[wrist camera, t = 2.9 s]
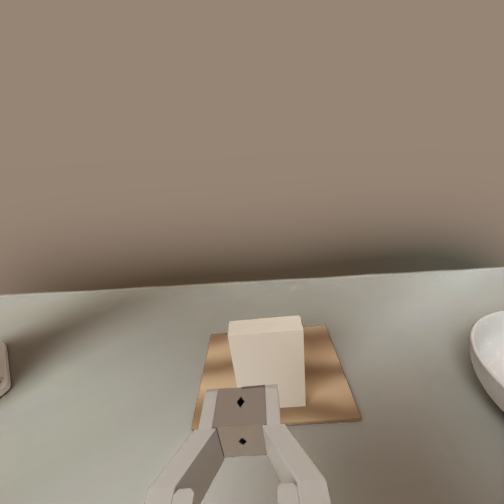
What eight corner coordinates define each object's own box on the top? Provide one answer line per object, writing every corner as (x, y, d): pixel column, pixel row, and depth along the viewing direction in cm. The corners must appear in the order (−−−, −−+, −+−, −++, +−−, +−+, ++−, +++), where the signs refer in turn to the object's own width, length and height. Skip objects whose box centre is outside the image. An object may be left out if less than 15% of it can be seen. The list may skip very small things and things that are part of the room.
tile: (305, 406, 32) (303, 329, 27) (241, 410, 32) (227, 335, 27) (302, 388, 34) (299, 314, 29) (242, 392, 34) (229, 320, 29)
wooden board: (360, 420, 30) (361, 417, 30) (192, 431, 31) (191, 428, 31) (325, 327, 44) (325, 325, 44) (211, 336, 45) (211, 334, 45)
